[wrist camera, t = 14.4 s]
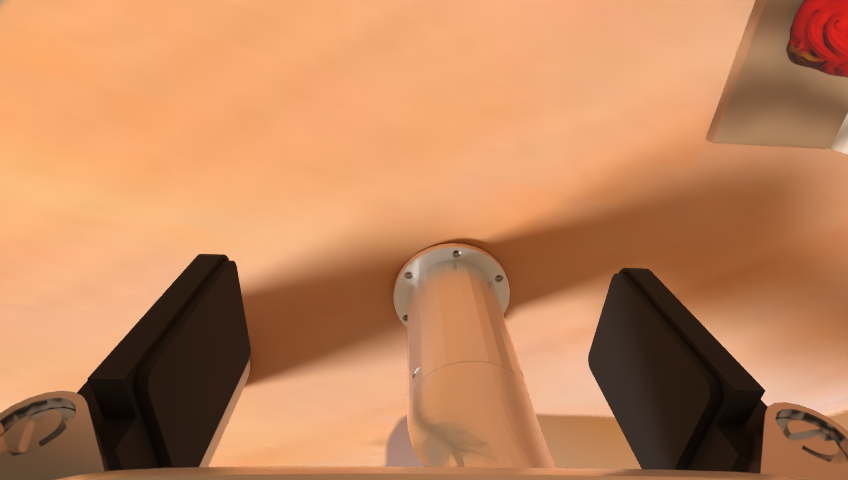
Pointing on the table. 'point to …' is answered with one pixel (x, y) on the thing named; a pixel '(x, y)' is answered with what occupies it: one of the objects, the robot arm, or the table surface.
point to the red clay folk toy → (820, 36)
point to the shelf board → (779, 91)
